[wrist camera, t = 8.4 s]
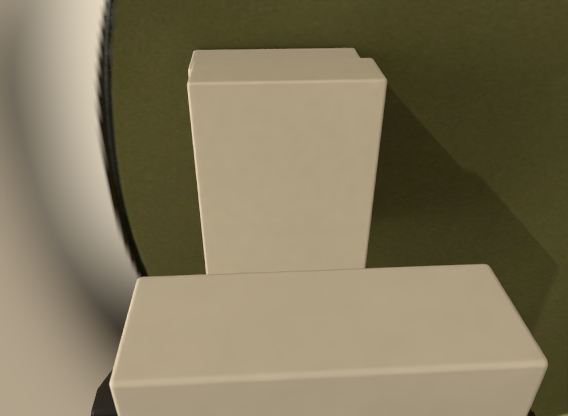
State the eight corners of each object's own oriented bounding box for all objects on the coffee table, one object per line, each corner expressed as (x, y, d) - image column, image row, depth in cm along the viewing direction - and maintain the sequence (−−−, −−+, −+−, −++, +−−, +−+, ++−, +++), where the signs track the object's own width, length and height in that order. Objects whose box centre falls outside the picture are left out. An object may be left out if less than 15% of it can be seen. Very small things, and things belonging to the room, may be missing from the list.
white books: (192, 41, 19) (179, 83, 15) (360, 38, 19) (388, 79, 15) (209, 226, 23) (203, 293, 20) (345, 222, 24) (363, 287, 20)
